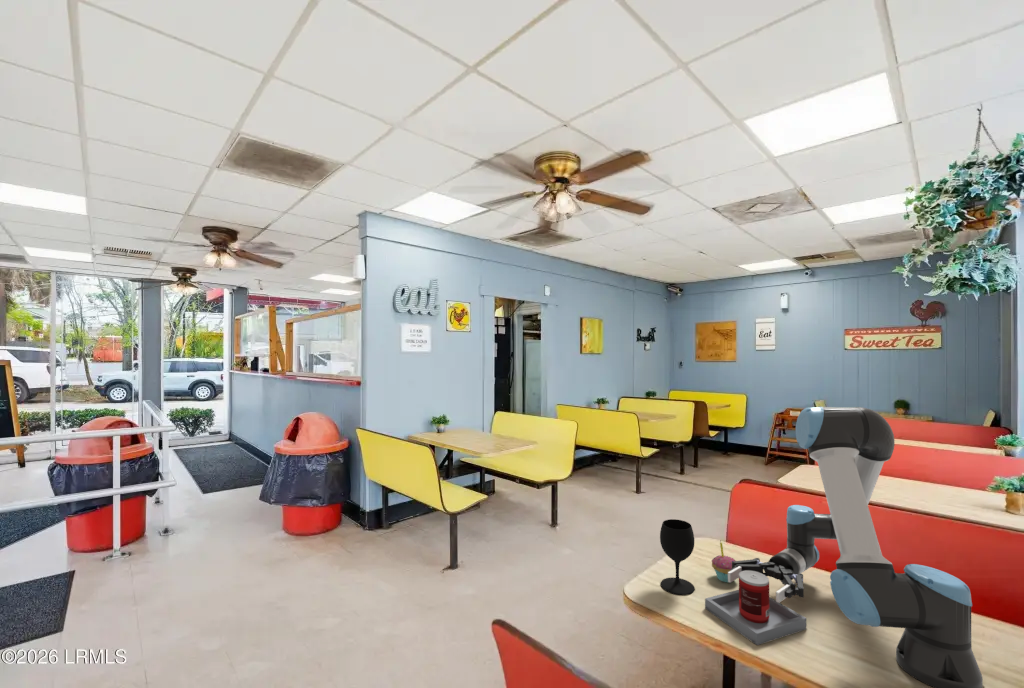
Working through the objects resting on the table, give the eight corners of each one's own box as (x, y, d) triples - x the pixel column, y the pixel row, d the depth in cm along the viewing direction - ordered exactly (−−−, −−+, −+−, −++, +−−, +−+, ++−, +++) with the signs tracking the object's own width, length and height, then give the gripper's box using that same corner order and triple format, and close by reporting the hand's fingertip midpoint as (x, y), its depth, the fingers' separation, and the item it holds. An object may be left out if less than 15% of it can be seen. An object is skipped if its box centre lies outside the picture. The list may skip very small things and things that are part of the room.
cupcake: (705, 575, 158) (705, 540, 158) (724, 570, 161) (723, 535, 161) (727, 587, 150) (727, 550, 150) (746, 581, 153) (745, 545, 153)
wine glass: (697, 583, 153) (696, 521, 153) (691, 598, 144) (691, 533, 144) (664, 575, 158) (663, 516, 158) (657, 590, 149) (656, 526, 149)
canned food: (762, 608, 137) (761, 570, 137) (774, 624, 129) (774, 584, 129) (734, 607, 138) (734, 569, 138) (745, 623, 130) (745, 583, 130)
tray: (806, 629, 128) (806, 618, 128) (756, 645, 122) (756, 633, 122) (751, 596, 145) (751, 586, 145) (705, 608, 138) (705, 598, 138)
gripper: (832, 594, 136) (800, 621, 123) (746, 562, 156) (711, 582, 143) (832, 568, 136) (800, 592, 123) (746, 539, 156) (710, 557, 143)
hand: (752, 587), depth 133 cm, fingers open, 13 cm apart
